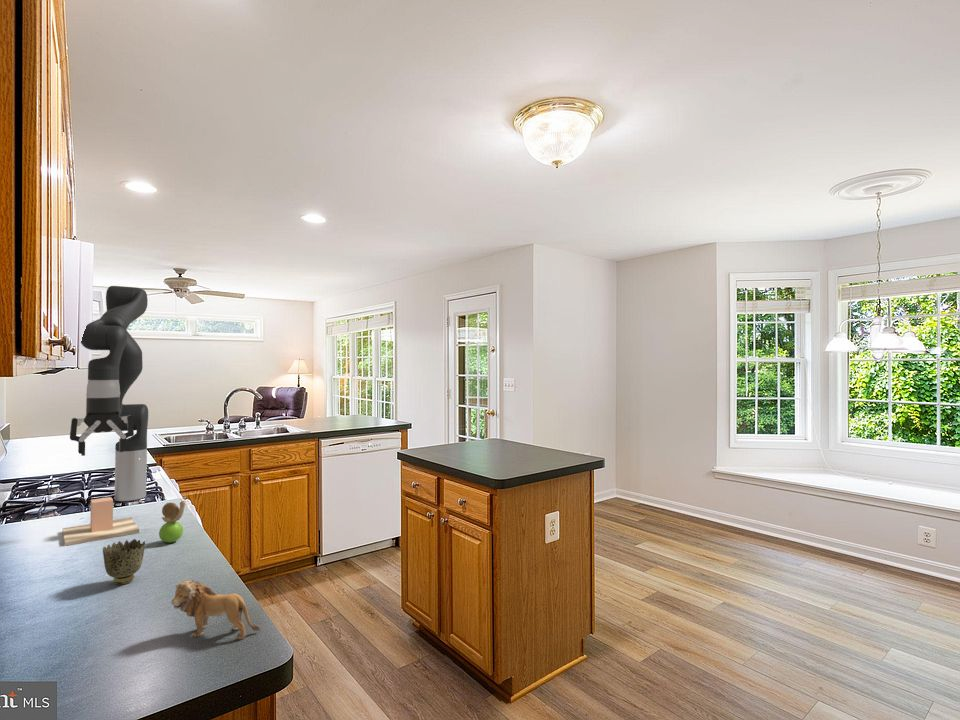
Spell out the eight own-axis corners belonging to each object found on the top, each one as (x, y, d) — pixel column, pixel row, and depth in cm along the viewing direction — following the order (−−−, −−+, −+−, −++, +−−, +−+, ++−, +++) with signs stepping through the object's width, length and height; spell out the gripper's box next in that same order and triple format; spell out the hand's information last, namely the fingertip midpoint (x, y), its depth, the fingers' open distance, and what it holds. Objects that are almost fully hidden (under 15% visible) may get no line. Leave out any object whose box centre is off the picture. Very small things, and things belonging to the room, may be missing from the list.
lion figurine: (165, 642, 84) (165, 587, 84) (182, 625, 89) (183, 574, 89) (254, 640, 84) (254, 586, 84) (266, 624, 90) (267, 573, 90)
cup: (151, 579, 108) (152, 542, 109) (112, 592, 102) (113, 553, 102) (133, 572, 112) (134, 536, 112) (95, 584, 106) (96, 546, 106)
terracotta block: (90, 528, 140) (90, 499, 140) (110, 525, 143) (111, 497, 144) (91, 532, 137) (92, 503, 137) (112, 528, 140) (113, 500, 140)
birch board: (62, 531, 140) (62, 528, 140) (131, 520, 151) (131, 517, 151) (64, 545, 129) (64, 542, 129) (139, 532, 140) (139, 529, 140)
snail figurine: (178, 545, 129) (179, 499, 130) (154, 545, 130) (154, 499, 130) (191, 538, 135) (191, 494, 135) (167, 538, 135) (168, 493, 135)
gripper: (132, 394, 148) (131, 449, 148) (70, 396, 139) (68, 454, 139) (135, 395, 143) (134, 452, 143) (71, 397, 133) (70, 458, 133)
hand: (102, 453), depth 141 cm, fingers open, 8 cm apart
